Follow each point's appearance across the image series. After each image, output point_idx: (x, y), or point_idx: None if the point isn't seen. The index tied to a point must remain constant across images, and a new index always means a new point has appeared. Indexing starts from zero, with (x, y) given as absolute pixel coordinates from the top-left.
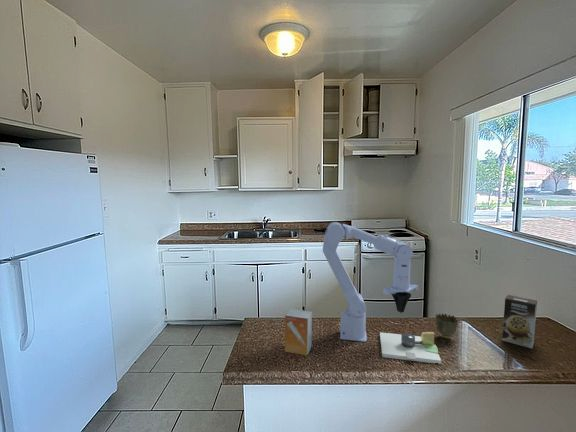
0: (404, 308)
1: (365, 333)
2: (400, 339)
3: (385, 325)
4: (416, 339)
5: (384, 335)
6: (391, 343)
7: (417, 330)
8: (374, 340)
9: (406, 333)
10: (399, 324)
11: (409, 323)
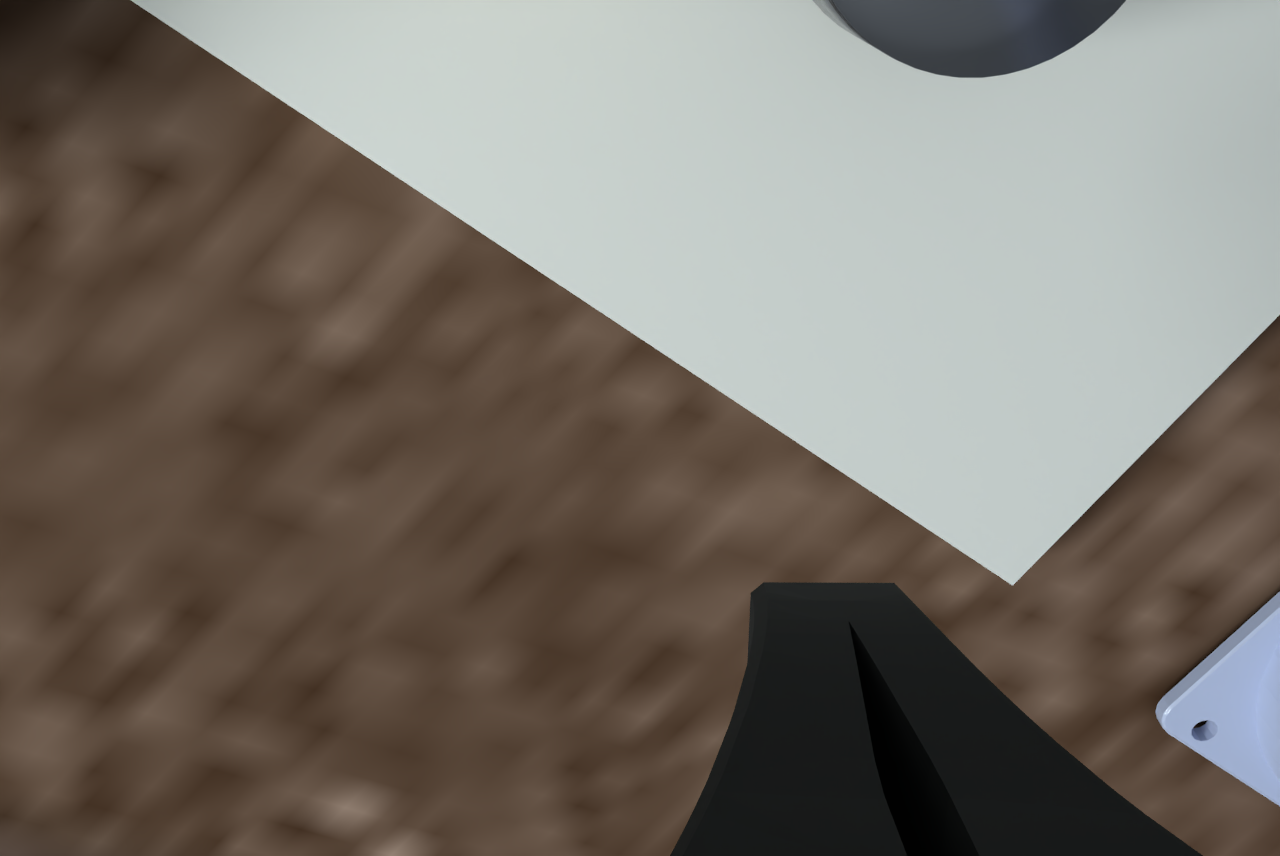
0: (779, 653)
1: (1237, 665)
2: (869, 186)
3: (599, 803)
4: (520, 50)
5: (1038, 451)
6: (1204, 106)
7: (131, 464)
8: (1247, 432)
9: (901, 45)
10: (319, 755)
11: (102, 728)
